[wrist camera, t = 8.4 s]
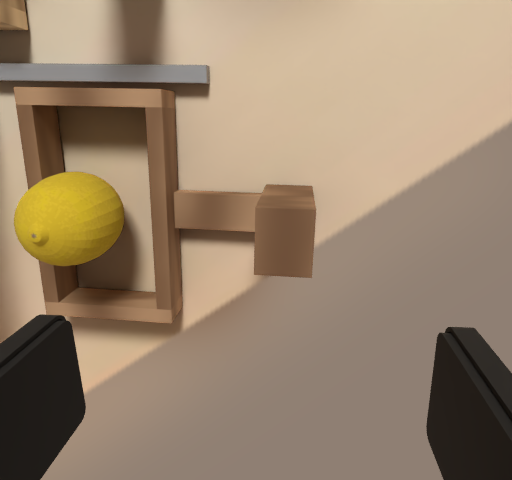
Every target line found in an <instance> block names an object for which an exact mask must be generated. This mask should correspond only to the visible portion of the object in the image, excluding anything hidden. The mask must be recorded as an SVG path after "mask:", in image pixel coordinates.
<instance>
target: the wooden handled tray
mask: <svg viewBox="0 0 512 480" xmlns="http://www.w3.org/2000/svg"><path fill="white" fill-rule="evenodd" d="M13 88H14V94H15V101H16V108H17V115H18V122H19V129H20V135H21V142H22V149H23V156H24V163H25V170H26V176H27V183H28V190H29V189H30V188H31V187H33V186H34V185H36V184H37V183H39V182H40V181H41V180H43V179H45V178H47V177H50V176H53V175H56V174H59V173H64V166H63V157H62V149H61V141H60V132H59V124H58V115H57V107H56V106H93V107H145V112H146V130H147V147H148V165H149V182H150V199H151V217H152V234H153V251H154V269H155V286H156V292H141V291H125V290H109V289H93V288H78V284H77V276H76V267H75V265H70V266H58V265H51V264H48V263H45V262H42V261H40V260H39V265H40V272H41V279H42V286H43V293H44V300H45V306H46V313H47V315H62V316H72V317H87V318H101V319H115V320H130V321H144V322H159V323H172V322H173V321H174V319H175V317H176V316H177V314H178V313H179V311H180V309H181V308H182V284H181V257H180V230H179V228H184V229H206V230H227V231H248V232H255V251H254V275H270V276H289V277H306V278H312V265H313V250H314V234H315V219H316V207H315V201H314V195H313V189H312V186H294V185H266V186H265V188H264V190H263V192H262V193H240V192H214V191H188V190H178V177H177V150H176V123H175V96H174V91H169V90H164V89H125V88H59V87H13Z"/></svg>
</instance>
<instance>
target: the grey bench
mask: <svg viewBox="0 0 512 480" xmlns="http://www.w3.org/2000/svg"><path fill="white" fill-rule="evenodd" d="M0 81H44V82H117V83H190V84H209V66H207V65H141V64H35V63H0Z"/></svg>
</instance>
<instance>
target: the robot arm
mask: <svg viewBox="0 0 512 480" xmlns="http://www.w3.org/2000/svg"><path fill="white" fill-rule="evenodd" d="M431 385H432V386H431V393H430V401H429V410H428V418H427V436H428V440H429V443H430V446H431V448H432V451H433V454H434V456H435V459H436V461H437V464H438V466H439V469H440V471H441V474H442V477H443V479H444V480H512V373H511V372H510V371H509V370H508V368H507V367H506V366H505V365H504V363H503V362H502V361H501V360H500V358H499V357H498V356H497V355H496V354H495V352H494V351H493V350H492V349H491V348H490V346H489V345H488V344H487V343H486V341H485V340H484V339H483V338H482V336H481V335H480V334H479V333H478V332H477V330H476V329H475V328H463V327H448V328H447V329H446V331H445V333H439V334H438V337H437V343H436V352H435V360H434V368H433V377H432V384H431ZM85 408H86V406H85V400H84V394H83V388H82V382H81V376H80V370H79V365H78V359H77V353H76V347H75V341H74V335H73V330H72V325H71V323H70V322H69V321H66V319H65V317H64V316H62V315H38V316H36V317H35V318H34V319H32V320H31V321H30V322H28V323H27V324H26V325H24V326H23V327H22V328H21V329H19V330H18V331H17V332H15V333H14V334H13V335H11V336H10V337H9V338H7V339H6V340H5V341H4V342H2V343H1V344H0V480H40V479H41V478H42V476H43V475H44V474H45V472H46V471H47V469H48V468H49V466H50V465H51V464H52V462H53V461H54V460H55V458H56V457H57V455H58V454H59V452H60V451H61V450H62V448H63V447H64V445H65V444H66V443H67V441H68V440H69V438H70V437H71V436H72V434H73V433H74V431H75V430H76V428H77V427H78V426H79V424H80V423H81V422H82V420H83V418H84V415H85Z"/></svg>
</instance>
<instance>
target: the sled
mask: <svg viewBox="0 0 512 480" xmlns="http://www.w3.org/2000/svg"><path fill="white" fill-rule="evenodd" d="M0 30H28V25H27V17H26V10H25V2H24V0H0Z"/></svg>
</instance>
